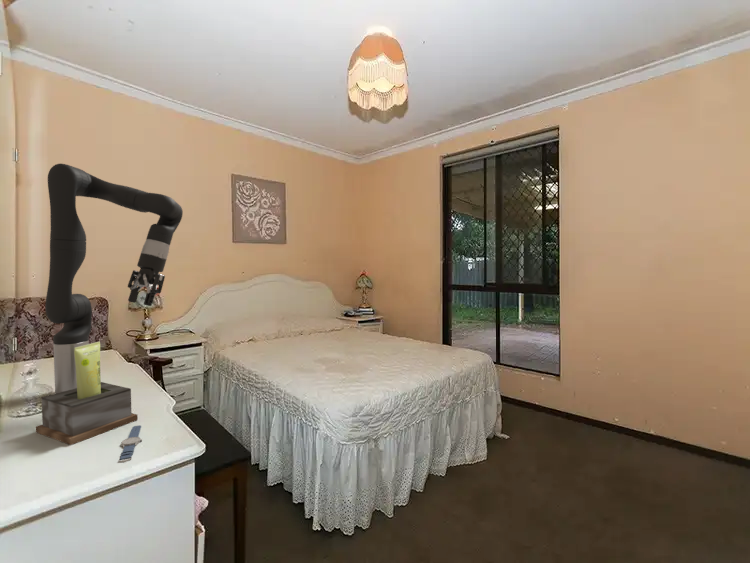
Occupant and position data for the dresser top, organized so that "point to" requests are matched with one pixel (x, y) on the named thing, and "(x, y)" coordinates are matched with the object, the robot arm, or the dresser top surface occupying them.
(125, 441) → the wristwatch
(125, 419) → the socket
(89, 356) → the tube
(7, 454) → the dresser top surface
